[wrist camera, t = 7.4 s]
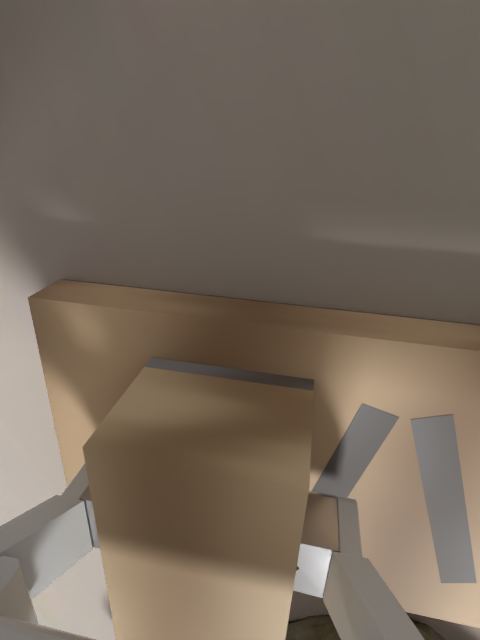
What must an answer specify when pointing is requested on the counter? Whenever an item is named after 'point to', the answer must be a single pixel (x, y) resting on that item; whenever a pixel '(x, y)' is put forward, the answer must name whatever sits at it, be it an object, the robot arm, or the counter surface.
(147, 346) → the board
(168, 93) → the counter surface
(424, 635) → the marble piece
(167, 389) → the block
